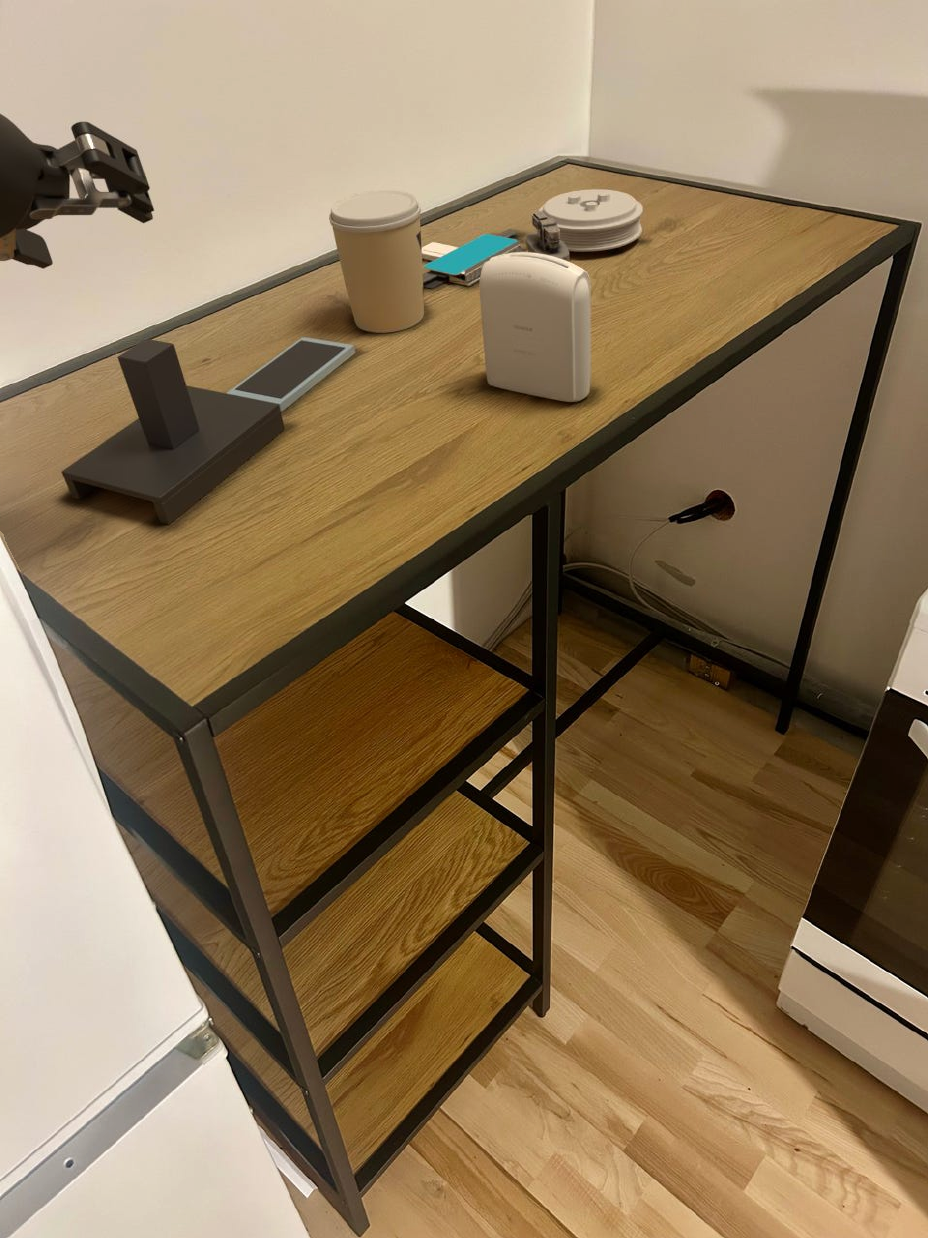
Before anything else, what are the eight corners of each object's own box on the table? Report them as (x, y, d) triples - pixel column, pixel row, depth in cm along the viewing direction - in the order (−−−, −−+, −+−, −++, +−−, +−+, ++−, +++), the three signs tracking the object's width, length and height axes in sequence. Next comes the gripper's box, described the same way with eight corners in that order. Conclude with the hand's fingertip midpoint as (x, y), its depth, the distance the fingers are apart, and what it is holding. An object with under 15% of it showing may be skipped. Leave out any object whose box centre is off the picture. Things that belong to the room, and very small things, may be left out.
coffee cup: (448, 315, 100) (438, 200, 92) (379, 344, 96) (361, 226, 88) (398, 293, 106) (384, 182, 98) (331, 319, 102) (310, 206, 94)
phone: (281, 412, 87) (279, 403, 86) (227, 401, 90) (225, 392, 89) (355, 353, 95) (353, 344, 95) (304, 344, 98) (302, 335, 97)
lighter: (576, 327, 96) (576, 228, 89) (545, 333, 95) (542, 234, 89) (551, 298, 102) (550, 203, 95) (522, 303, 101) (518, 209, 95)
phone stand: (473, 226, 121) (473, 213, 120) (548, 241, 115) (548, 227, 113) (369, 280, 110) (367, 266, 109) (445, 299, 104) (444, 285, 103)
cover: (169, 525, 74) (126, 407, 67) (71, 497, 79) (22, 384, 72) (285, 429, 85) (258, 318, 78) (193, 409, 89) (160, 302, 82)
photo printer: (479, 387, 88) (469, 256, 79) (502, 368, 90) (495, 239, 82) (576, 409, 83) (576, 273, 75) (597, 388, 85) (599, 254, 77)
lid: (657, 228, 115) (659, 185, 112) (615, 264, 107) (617, 220, 104) (565, 218, 120) (565, 177, 117) (520, 252, 113) (518, 209, 109)
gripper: (8, 25, 49) (161, 139, 64) (-202, 135, 52) (-6, 218, 68) (57, 165, 49) (197, 244, 65) (-153, 265, 52) (30, 317, 68)
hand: (94, 231), depth 66 cm, fingers open, 8 cm apart
